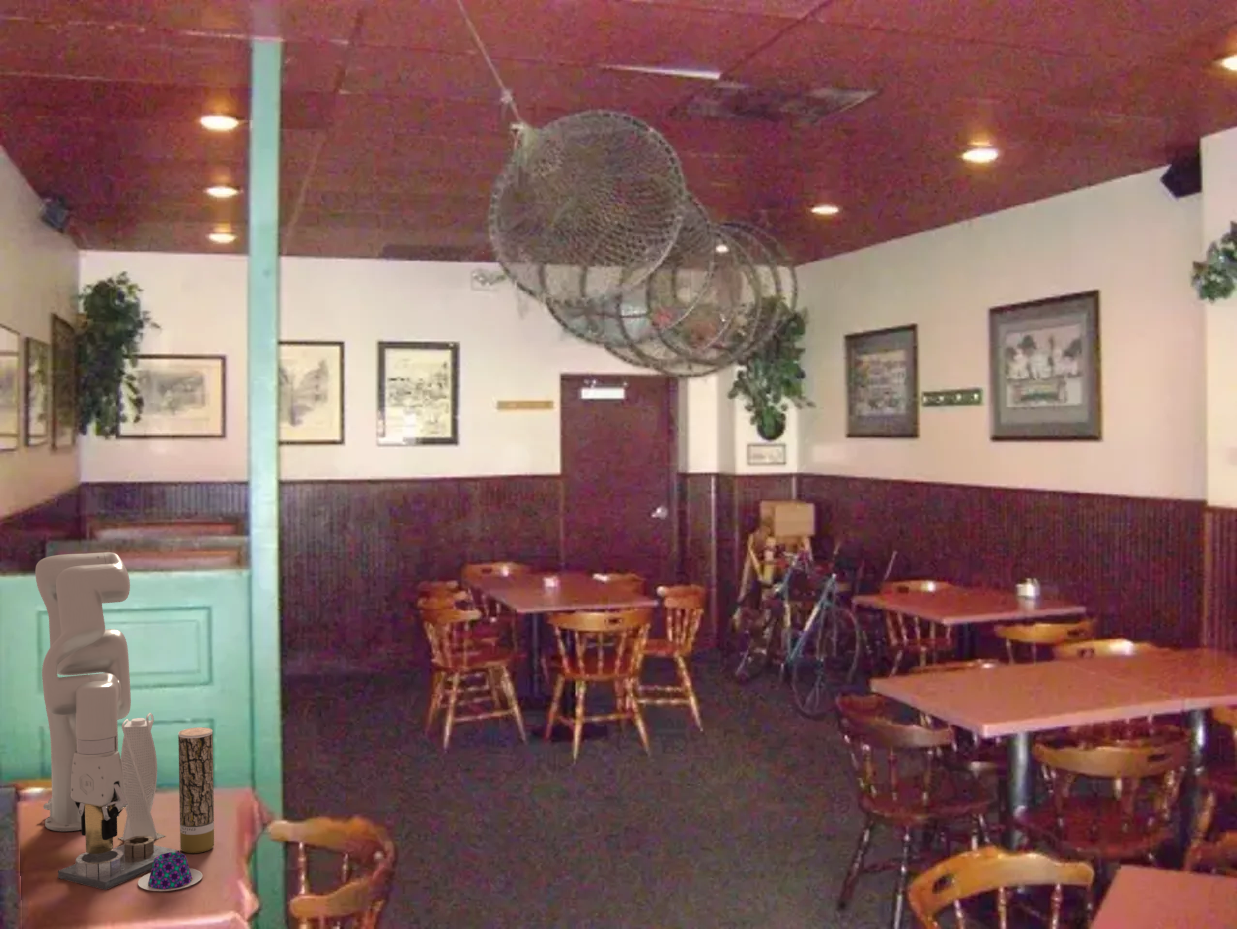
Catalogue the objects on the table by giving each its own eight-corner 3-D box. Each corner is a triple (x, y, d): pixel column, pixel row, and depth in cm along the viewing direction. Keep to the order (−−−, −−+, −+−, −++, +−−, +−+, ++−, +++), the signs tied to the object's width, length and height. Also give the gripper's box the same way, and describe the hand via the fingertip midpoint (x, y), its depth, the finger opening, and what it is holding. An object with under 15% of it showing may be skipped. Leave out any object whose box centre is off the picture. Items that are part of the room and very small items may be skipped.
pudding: (142, 874, 255) (142, 848, 255) (205, 869, 258) (204, 843, 257) (133, 897, 243) (133, 870, 243) (199, 892, 246) (199, 865, 246)
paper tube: (203, 855, 264) (201, 736, 263) (173, 853, 265) (171, 735, 264) (220, 844, 271) (218, 728, 269) (191, 842, 272) (189, 726, 271)
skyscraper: (169, 839, 275) (167, 711, 273) (136, 850, 268) (133, 718, 266) (146, 831, 280) (144, 705, 278) (113, 841, 273) (110, 712, 271)
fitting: (80, 851, 251) (78, 801, 251) (100, 843, 256) (99, 794, 255) (98, 855, 249) (97, 805, 248) (118, 847, 253) (117, 797, 253)
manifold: (58, 878, 252) (57, 858, 251) (133, 847, 269) (133, 829, 268) (105, 889, 246) (105, 869, 246) (179, 857, 263) (179, 838, 263)
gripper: (51, 744, 252) (53, 835, 253) (113, 755, 244) (115, 848, 245) (82, 735, 258) (84, 823, 259) (143, 745, 251) (145, 836, 252)
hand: (99, 834), depth 252 cm, fingers closed on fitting, 5 cm apart
